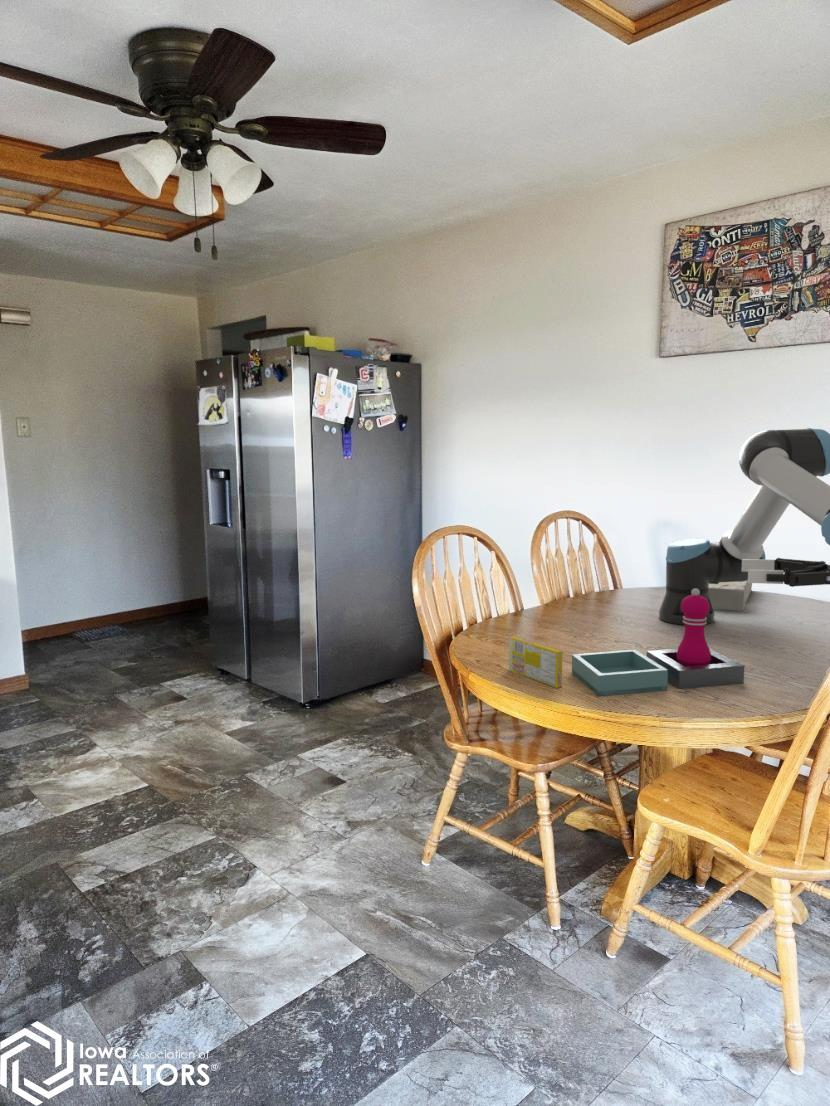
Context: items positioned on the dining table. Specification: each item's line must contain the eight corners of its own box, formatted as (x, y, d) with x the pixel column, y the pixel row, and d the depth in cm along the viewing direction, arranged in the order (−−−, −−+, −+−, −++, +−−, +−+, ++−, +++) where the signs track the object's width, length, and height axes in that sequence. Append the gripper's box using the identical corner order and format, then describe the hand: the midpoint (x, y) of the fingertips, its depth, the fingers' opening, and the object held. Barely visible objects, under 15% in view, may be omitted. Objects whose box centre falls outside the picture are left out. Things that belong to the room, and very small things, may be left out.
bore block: (705, 662, 169) (706, 646, 169) (743, 683, 155) (744, 665, 154) (646, 667, 167) (646, 650, 167) (679, 688, 153) (679, 670, 152)
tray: (634, 668, 167) (635, 649, 166) (667, 690, 152) (667, 669, 151) (571, 673, 165) (571, 654, 164) (598, 696, 150) (598, 675, 149)
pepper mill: (715, 680, 157) (718, 591, 154) (682, 680, 157) (685, 592, 154) (703, 669, 164) (705, 584, 161) (671, 670, 165) (673, 585, 161)
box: (744, 613, 216) (752, 591, 244) (745, 588, 215) (752, 569, 243) (664, 608, 228) (680, 587, 255) (665, 584, 226) (680, 566, 254)
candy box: (563, 687, 156) (563, 650, 155) (556, 689, 155) (556, 652, 154) (514, 668, 170) (514, 634, 169) (507, 670, 169) (507, 636, 168)
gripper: (844, 546, 158) (740, 545, 165) (875, 565, 135) (751, 562, 142) (843, 579, 159) (739, 577, 166) (872, 604, 136) (750, 599, 143)
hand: (744, 570), depth 154 cm, fingers open, 13 cm apart
